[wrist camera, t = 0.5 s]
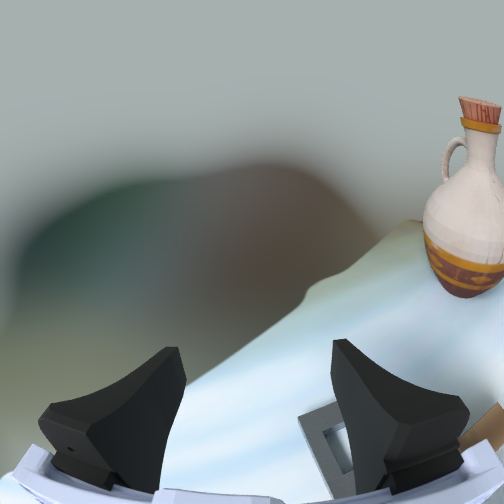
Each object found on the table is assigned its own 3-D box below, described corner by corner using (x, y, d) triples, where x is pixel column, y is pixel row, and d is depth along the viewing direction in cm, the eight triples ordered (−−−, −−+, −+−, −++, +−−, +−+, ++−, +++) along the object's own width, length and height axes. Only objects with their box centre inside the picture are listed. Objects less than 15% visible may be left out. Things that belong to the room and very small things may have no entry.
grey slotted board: (454, 530, 8) (463, 529, 7) (371, 580, 7) (375, 583, 6) (369, 392, 27) (372, 384, 26) (298, 423, 26) (297, 416, 25)
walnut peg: (484, 453, 14) (517, 427, 11) (459, 475, 14) (491, 455, 10) (468, 430, 18) (497, 401, 14) (444, 451, 17) (471, 427, 14)
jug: (397, 257, 47) (394, 91, 32) (466, 244, 45) (475, 98, 30) (442, 332, 31) (477, 98, 16) (518, 304, 28) (556, 119, 13)
